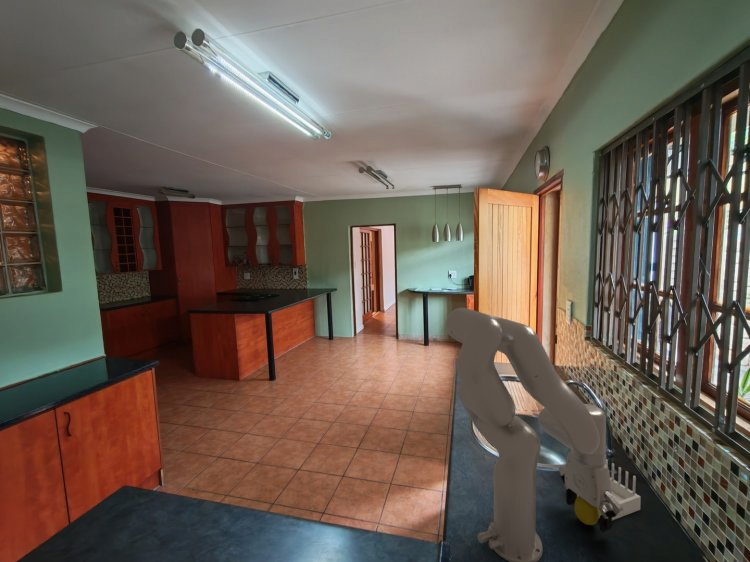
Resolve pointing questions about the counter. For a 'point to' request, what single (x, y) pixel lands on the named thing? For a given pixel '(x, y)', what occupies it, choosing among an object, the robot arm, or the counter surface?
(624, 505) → the rack
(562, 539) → the counter surface
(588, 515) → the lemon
